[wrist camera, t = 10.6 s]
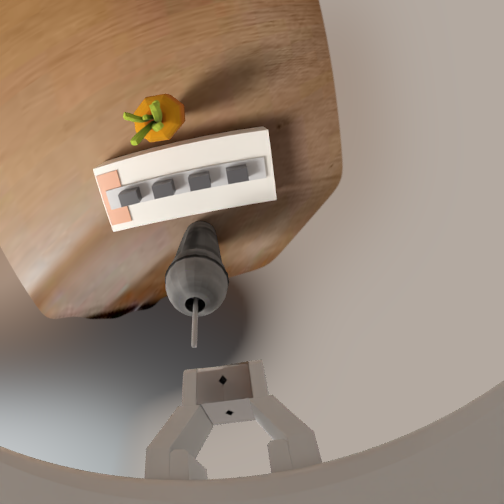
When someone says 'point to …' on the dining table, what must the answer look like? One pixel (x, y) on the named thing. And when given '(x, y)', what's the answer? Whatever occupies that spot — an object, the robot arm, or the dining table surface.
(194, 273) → the beverage cup
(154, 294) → the dining table surface
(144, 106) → the carrot
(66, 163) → the dining table surface
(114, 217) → the breaker panel
